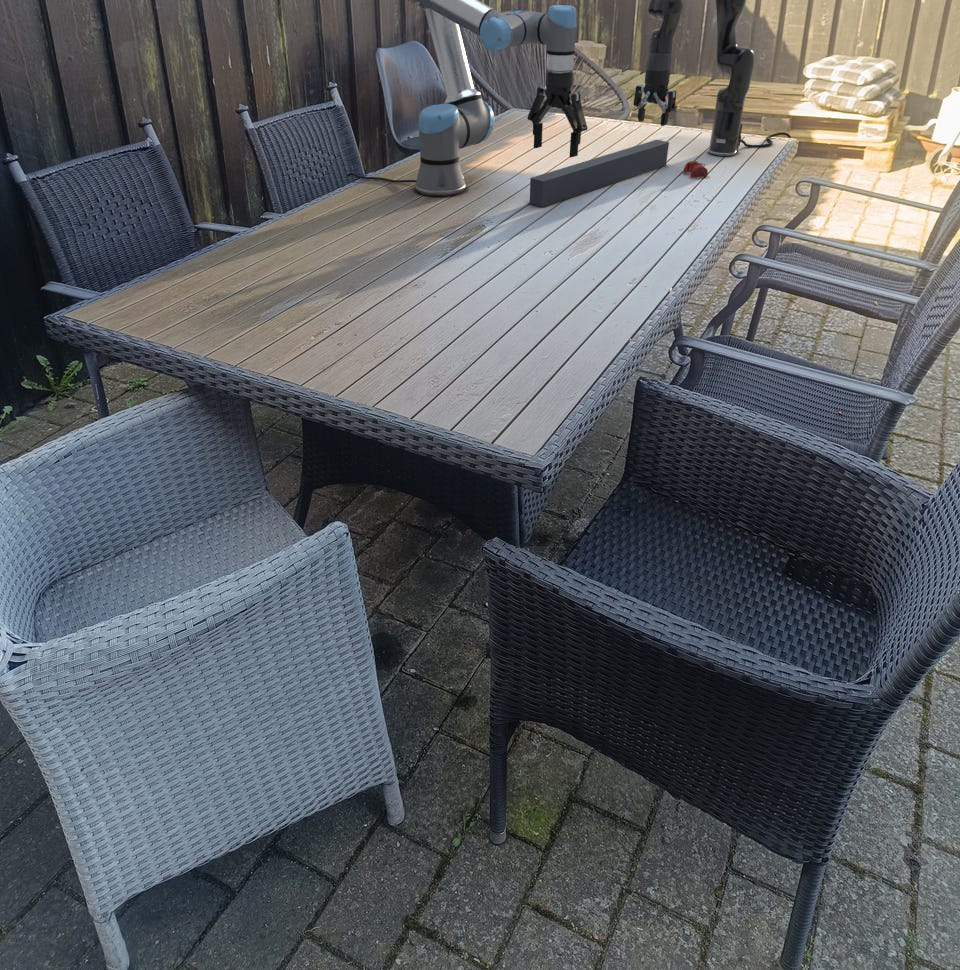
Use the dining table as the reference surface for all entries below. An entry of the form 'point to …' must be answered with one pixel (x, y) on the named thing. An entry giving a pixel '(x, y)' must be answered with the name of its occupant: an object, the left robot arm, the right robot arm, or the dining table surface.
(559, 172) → the beam
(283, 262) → the dining table surface
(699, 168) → the red lumpy piece
